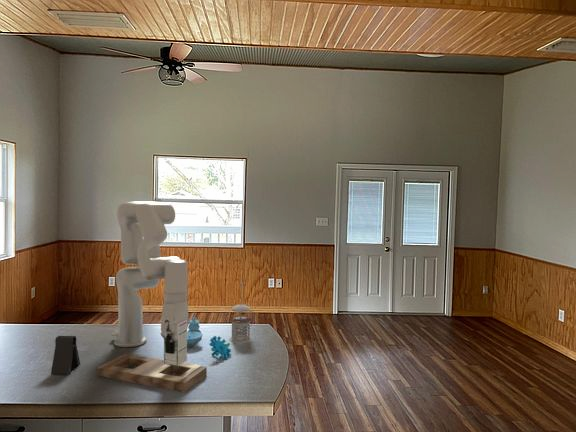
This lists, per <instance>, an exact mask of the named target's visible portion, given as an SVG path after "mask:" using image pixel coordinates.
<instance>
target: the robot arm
mask: <svg viewBox="0 0 576 432" xmlns="http://www.w3.org/2000/svg"><path fill="white" fill-rule="evenodd" d="M116 216H117V221H118V224H119V227H120V259H121V262H122V263H123V264H124V265H138V266H130V267H124V268H121V269H119V270H118V271H117V272H116V274H115V275H116V276H115V281H116V289H117V296H118V297H117V299H118V300H117V301H118V304H117V305H118V306H117V307H118V308H117V309H118V311H117V312H118V315H117V316H118V322H117V323H118V324H117V325H118V328H117V329H118V330H117V329H114V330H113V331H112V333H111V336H112V337H116V338H115V340H114V341H113V342H114V346H117V347H119V348H133V347H139V346H141V345H144V344H145V343H147V337H146V336H144V335H143V310H144V309H143V298H142V296H141V295H140V294H139V293H138V292H137V291H139V290H145V289H146V290H147V289H153V288H156V287H157V286H158V285H159V284H160V280H164V283H163V284H164V286H163V287H164V288H163V289H164V290H163V291H164V293H163V295H164V296H163V297H164V301H163V303H162V309H161V319H160V331H161V332H160V336H161V337H162V338H163V342H164V341H165V352H166V353H170V354H174V352H175V342H174V341H173V340H174V333H175V332H176V326H177V324H178V323H179V322H181V321H183V320H187V329H189V328H188V326H189V321H190V320H189V305H188V281H189V280H188V278H189V277H188V273H189V272H188V270H189V269H188V268H189V267H188V262H187V261H186V260H184V259H182V258H181V257H179V256H176V255H175V256H173V255H172V256H162V255H161V254H162V253H161V247H160V244H162V243H164V242H165V240H166V239H167V238H168V231H167V228H166V226H165V225H171V224H173V222H175V220H176V210H175V208H174V207H173V205H172V204H171V203H169V202H163V201H125V202H122V203H120V204H119V205H118V207H117V210H116ZM168 330H171V332H168ZM169 334H171V337H170V336H169Z"/></svg>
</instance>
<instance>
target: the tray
mask: <svg viewBox="0 0 576 432" xmlns="http://www.w3.org/2000/svg"><path fill="white" fill-rule="evenodd" d="M128 367H132V368H128ZM207 368H208V367H207V366H204V365H203V366H202V364H195V363H191V362H190V363H189V362H184V363H183V364H181V365H180V366H174V365H168V364H164V359H160V358H153V357H147V356H141V355H136V354H130V353H124V354H123V355H120V356H118V357H116V358H114V359H112V360H111V361H108V362H106V363H104V364H102V365H100V366H98V367H97V376H98V377H101V378H107V379H113V380H118V381H122V382H128V383H132V384H133V383H134V384H140V385H145V386H151V387H153V388H154V387H155V388H161V389H166V390H171V391H175V392H176V391H177V392H181V393H186V392H187V391H188V390H190V389H191V388H193V387H194V386H195V385H196V384H198V383H199V382H200V381H202V380H203V379H204V378H206V377H207V373H208V372H207Z"/></svg>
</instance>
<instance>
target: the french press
mask: <svg viewBox="0 0 576 432" xmlns="http://www.w3.org/2000/svg"><path fill="white" fill-rule="evenodd" d="M239 286H240V298H242V295H243V294H242V293H243V292H242V291H243V290H242V286H245V285H244V282H240V283H239ZM231 310H232V311H234V312H235V313H236V312H239V313H242V312H243V313H244V312H247V314H250V317H251V318H250V317H249V316H248V315H244V314H243V315H242V314H240V315H234V316H233V317H232V320H231V337H230V338H229V340H228V341H229V343H234V344H246V343H249V342H250V343H251V342H252V341H253V339H252V338H251V335H250V333H251V332H250V329H251V327H252V326H253V324H254V321H255V319H253V316H255V314H254V312H253V311H252V310H251V307H250V306H248V305H246V304H242V303H240V304H236V305H234V306H233V307H231ZM250 319H251V320H250ZM251 323H252V324H251Z"/></svg>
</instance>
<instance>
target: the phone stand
mask: <svg viewBox="0 0 576 432" xmlns="http://www.w3.org/2000/svg"><path fill="white" fill-rule="evenodd" d="M54 342H55V343H54V345H55V346H54V352H53V357H52V358H53V359H52V364H51V370H50V371H51V372H50V375H51V374H53V375H56V376H57V375H60V376H70V374H71V372H72V371H73V372H74V371H75V370H76V369H78V368H79V367H80V366H81V360H80V356H79V351H78V346H77V336H76V335H57V336H56V337H55V341H54ZM79 365H80V366H79ZM78 366H79V367H78ZM77 367H78V368H77ZM53 375H52V376H53Z"/></svg>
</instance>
